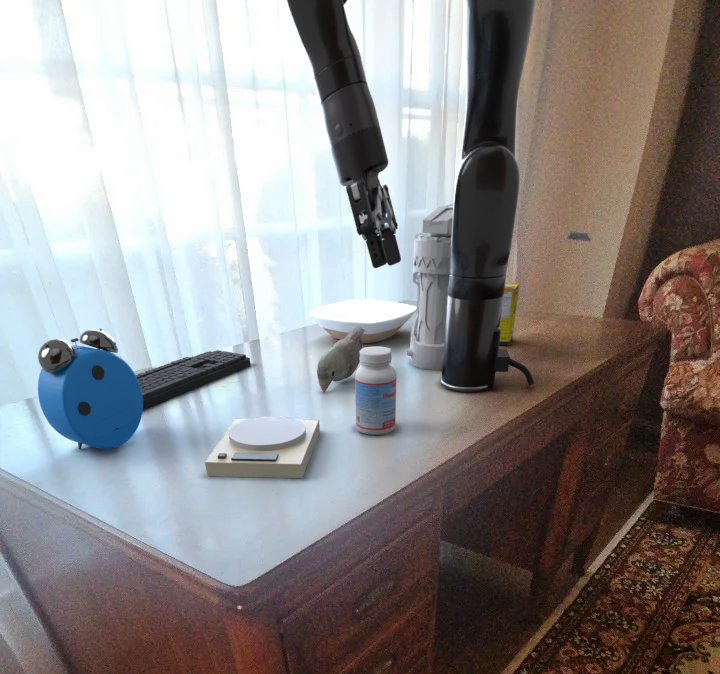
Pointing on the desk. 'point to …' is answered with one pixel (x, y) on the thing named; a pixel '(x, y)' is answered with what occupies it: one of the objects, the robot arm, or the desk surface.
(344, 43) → the robot arm
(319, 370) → the decorative bird
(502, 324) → the supplement box
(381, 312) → the bowl
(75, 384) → the alarm clock
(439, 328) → the lantern
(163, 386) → the keyboard
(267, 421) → the scale
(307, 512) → the desk surface
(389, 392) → the pill bottle
